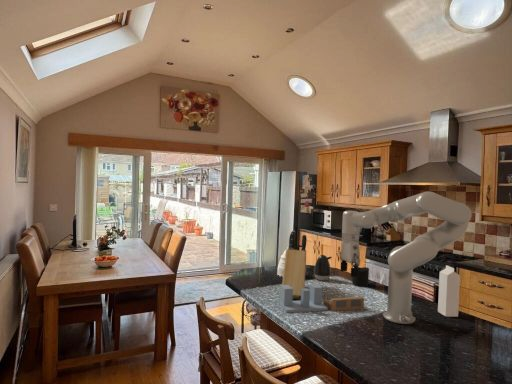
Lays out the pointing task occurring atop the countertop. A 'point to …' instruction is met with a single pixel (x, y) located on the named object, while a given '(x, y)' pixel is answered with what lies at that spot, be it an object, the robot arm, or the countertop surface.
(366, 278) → the pen holder
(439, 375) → the countertop surface
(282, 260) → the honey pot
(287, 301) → the gray blocky stand
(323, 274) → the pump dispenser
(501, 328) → the countertop surface
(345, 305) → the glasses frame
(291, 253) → the knife block
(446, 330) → the countertop surface
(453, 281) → the milk
